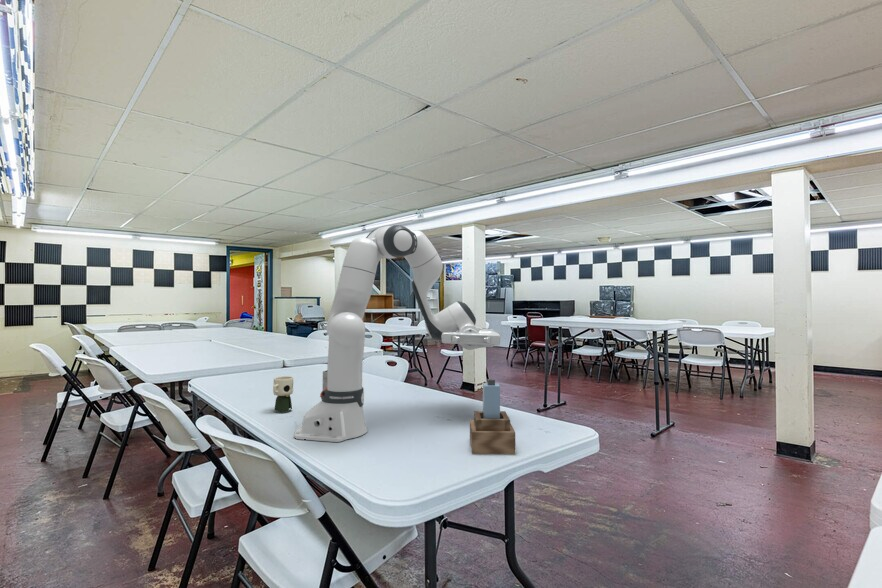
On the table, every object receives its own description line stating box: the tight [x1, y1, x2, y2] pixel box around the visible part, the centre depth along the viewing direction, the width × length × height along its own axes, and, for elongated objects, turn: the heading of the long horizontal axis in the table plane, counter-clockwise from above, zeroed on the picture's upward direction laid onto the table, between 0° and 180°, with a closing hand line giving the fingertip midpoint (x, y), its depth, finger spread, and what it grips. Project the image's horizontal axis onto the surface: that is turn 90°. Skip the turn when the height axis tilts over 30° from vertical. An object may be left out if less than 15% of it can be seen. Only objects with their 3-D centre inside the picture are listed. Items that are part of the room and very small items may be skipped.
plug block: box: [482, 378, 501, 419], centre depth 120 cm, size 4×4×14 cm
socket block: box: [469, 410, 516, 455], centre depth 120 cm, size 12×12×9 cm
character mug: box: [272, 375, 294, 413], centre depth 158 cm, size 11×7×13 cm, turn 162°
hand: (471, 340), depth 136 cm, fingers open, 8 cm apart
